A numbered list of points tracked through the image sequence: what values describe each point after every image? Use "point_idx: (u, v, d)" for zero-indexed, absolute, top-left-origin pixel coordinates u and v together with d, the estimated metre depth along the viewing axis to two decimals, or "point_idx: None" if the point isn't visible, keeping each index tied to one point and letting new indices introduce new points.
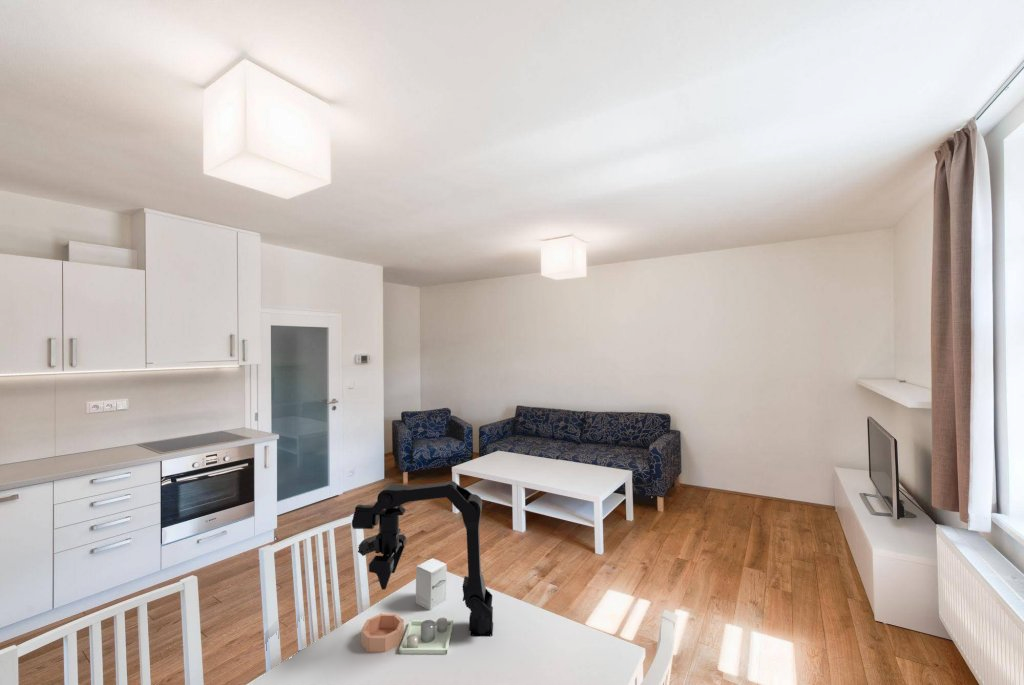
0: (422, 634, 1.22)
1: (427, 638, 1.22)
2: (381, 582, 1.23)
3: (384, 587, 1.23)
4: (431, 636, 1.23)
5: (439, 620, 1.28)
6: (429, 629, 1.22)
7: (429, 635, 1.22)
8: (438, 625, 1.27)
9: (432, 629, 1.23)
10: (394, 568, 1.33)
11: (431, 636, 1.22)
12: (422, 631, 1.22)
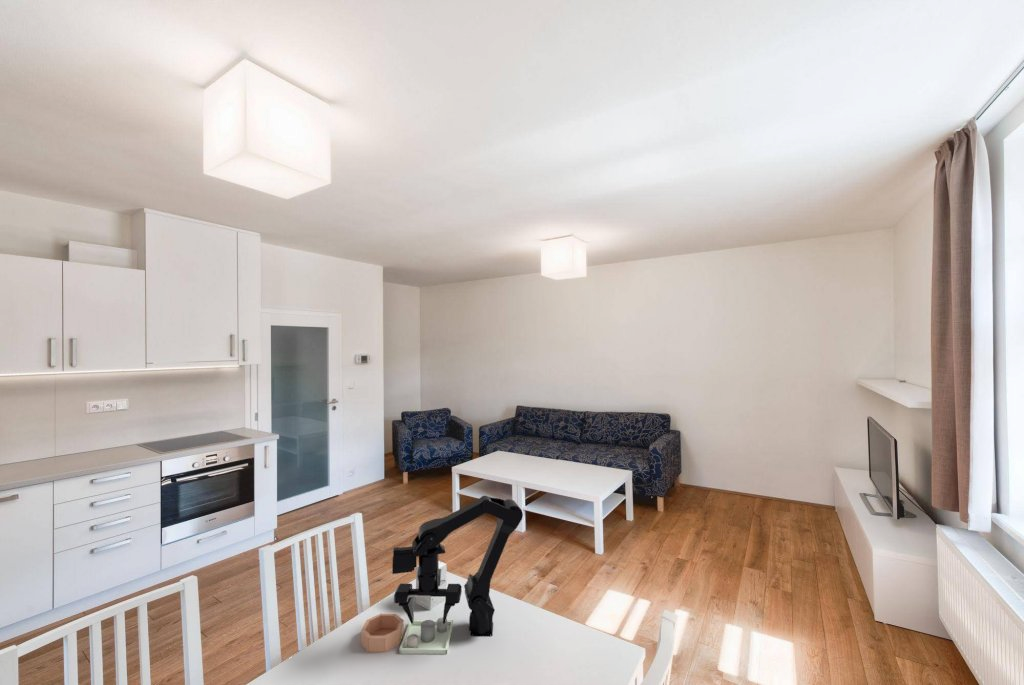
0: (422, 634, 1.22)
1: (427, 638, 1.22)
2: None
3: None
4: (431, 636, 1.23)
5: (439, 620, 1.28)
6: (429, 629, 1.22)
7: (429, 635, 1.22)
8: (438, 625, 1.27)
9: (432, 629, 1.23)
10: (443, 619, 1.23)
11: (431, 636, 1.22)
12: (422, 631, 1.22)
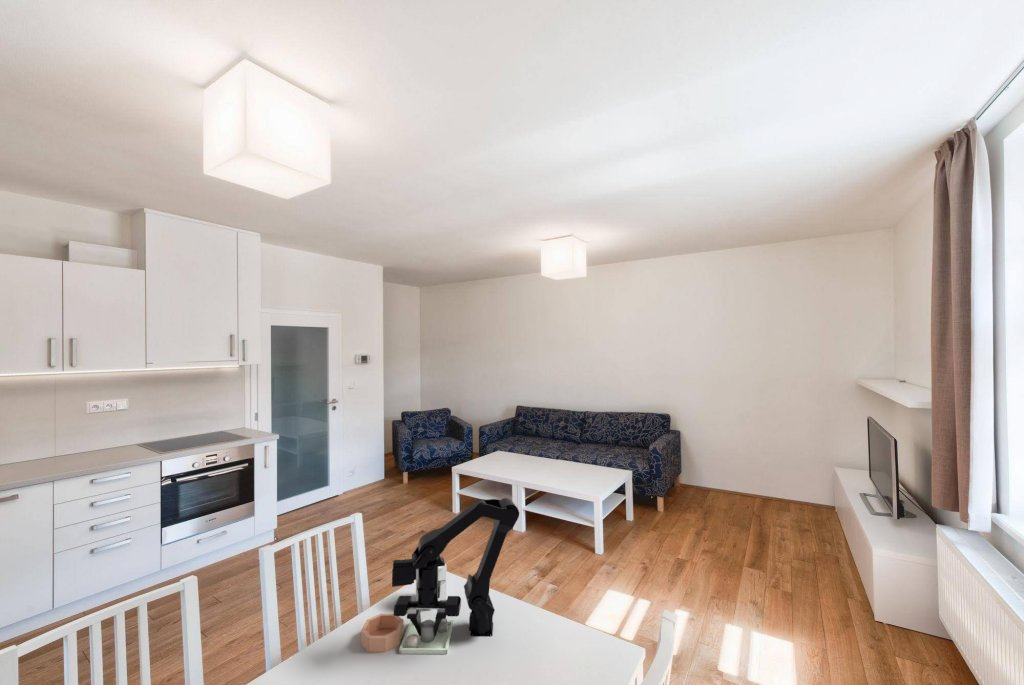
0: (422, 634, 1.22)
1: (427, 638, 1.22)
2: None
3: None
4: (431, 636, 1.23)
5: None
6: (429, 629, 1.22)
7: (429, 635, 1.22)
8: None
9: (432, 629, 1.23)
10: (434, 631, 1.23)
11: (431, 636, 1.22)
12: (422, 631, 1.22)
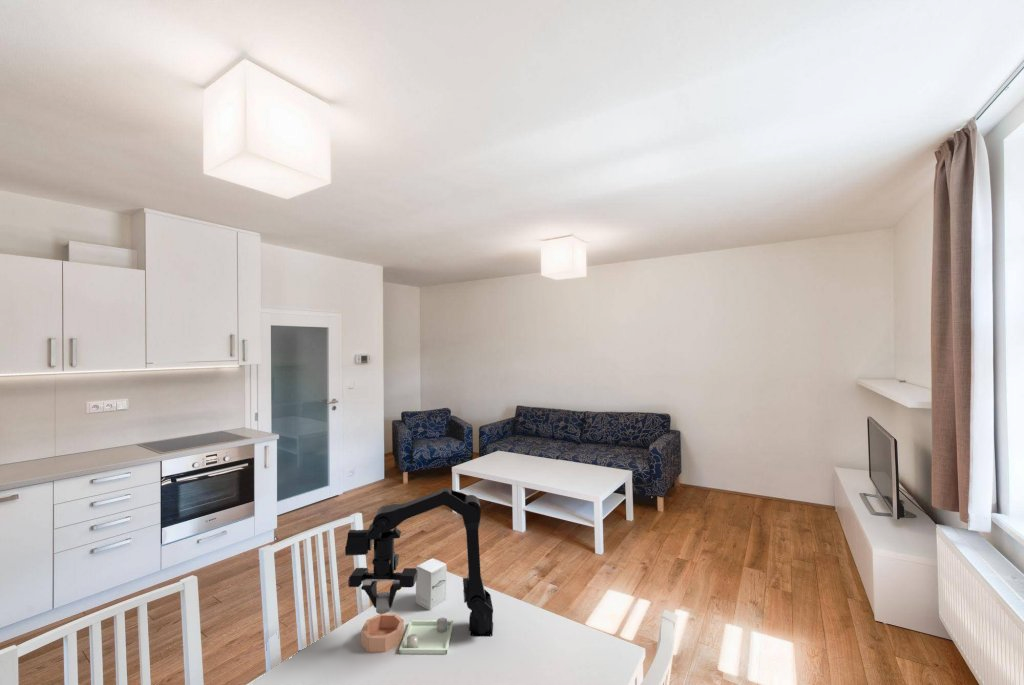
0: (377, 605, 1.22)
1: (381, 609, 1.22)
2: None
3: None
4: (386, 607, 1.22)
5: (439, 620, 1.28)
6: (384, 600, 1.22)
7: (384, 606, 1.22)
8: (438, 625, 1.27)
9: (387, 600, 1.23)
10: None
11: (385, 607, 1.22)
12: (377, 602, 1.22)
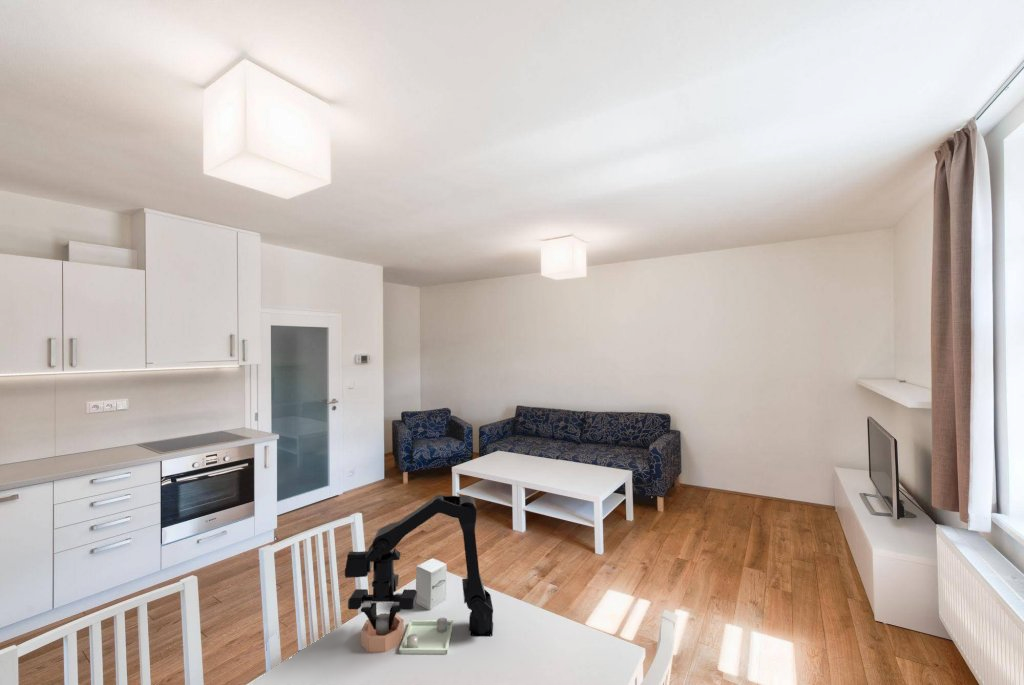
0: (377, 627, 1.22)
1: (381, 631, 1.22)
2: None
3: None
4: (386, 629, 1.22)
5: (439, 620, 1.28)
6: (384, 623, 1.22)
7: (383, 628, 1.22)
8: (438, 625, 1.27)
9: (387, 622, 1.23)
10: (389, 625, 1.23)
11: (385, 629, 1.22)
12: (377, 624, 1.22)
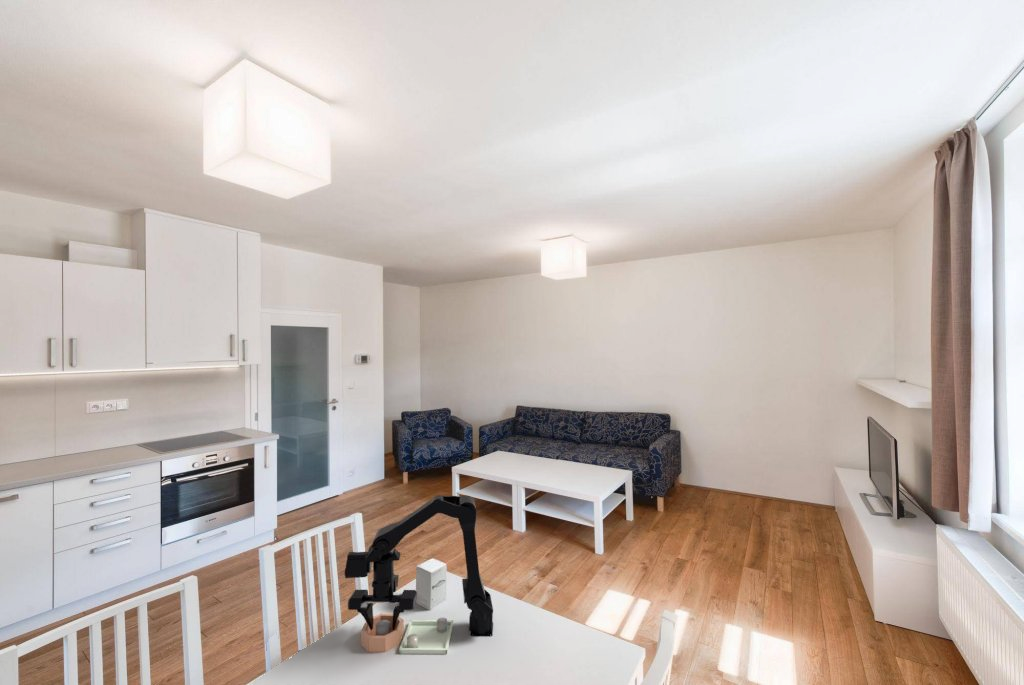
0: (377, 634, 1.22)
1: None
2: None
3: None
4: None
5: (439, 620, 1.28)
6: (384, 629, 1.22)
7: (383, 635, 1.22)
8: (438, 625, 1.27)
9: (387, 629, 1.22)
10: None
11: None
12: (377, 631, 1.22)
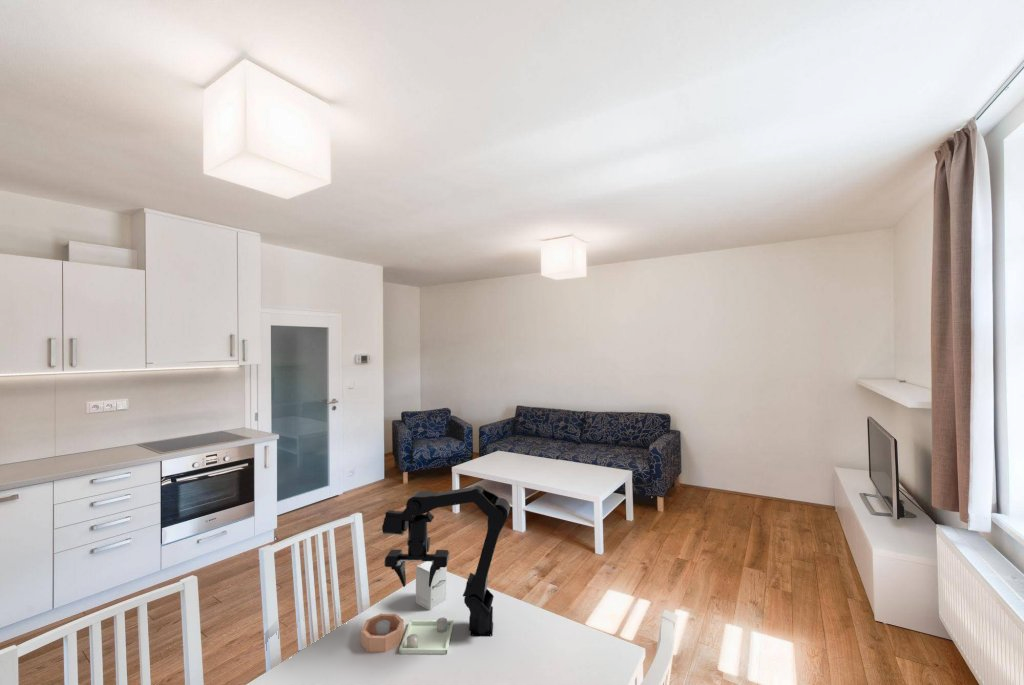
0: (377, 634, 1.22)
1: None
2: None
3: None
4: None
5: (439, 620, 1.28)
6: (384, 629, 1.22)
7: (383, 635, 1.22)
8: (438, 625, 1.27)
9: (387, 629, 1.22)
10: (429, 582, 1.30)
11: None
12: (377, 631, 1.22)
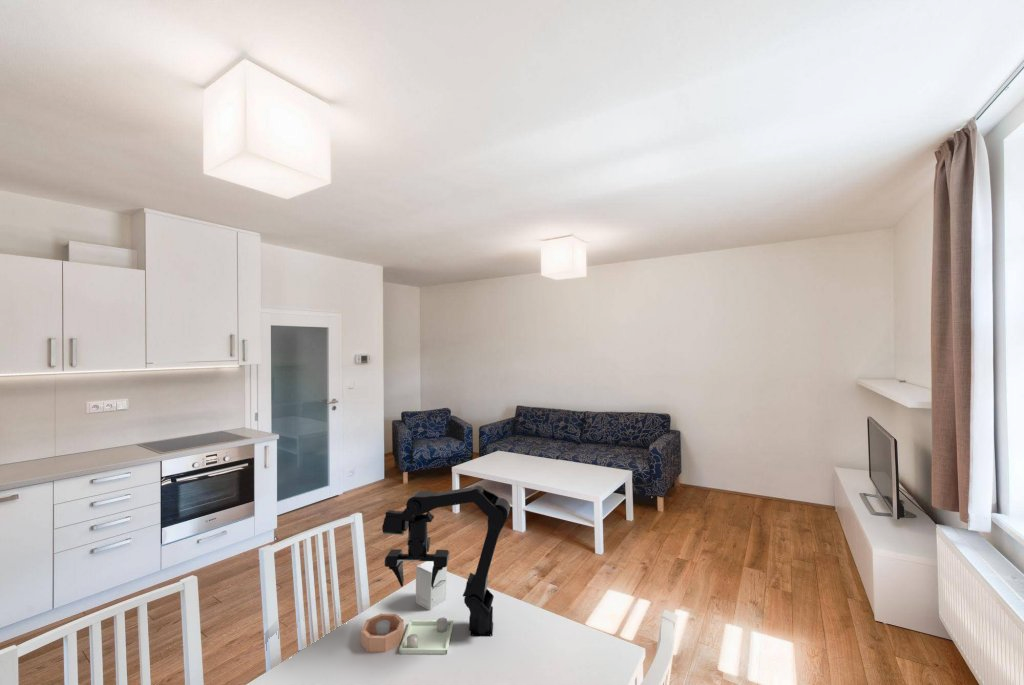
0: (377, 634, 1.22)
1: None
2: None
3: None
4: None
5: (439, 620, 1.28)
6: (384, 629, 1.22)
7: (383, 635, 1.22)
8: (438, 625, 1.27)
9: (387, 629, 1.22)
10: (431, 582, 1.30)
11: None
12: (376, 631, 1.22)
